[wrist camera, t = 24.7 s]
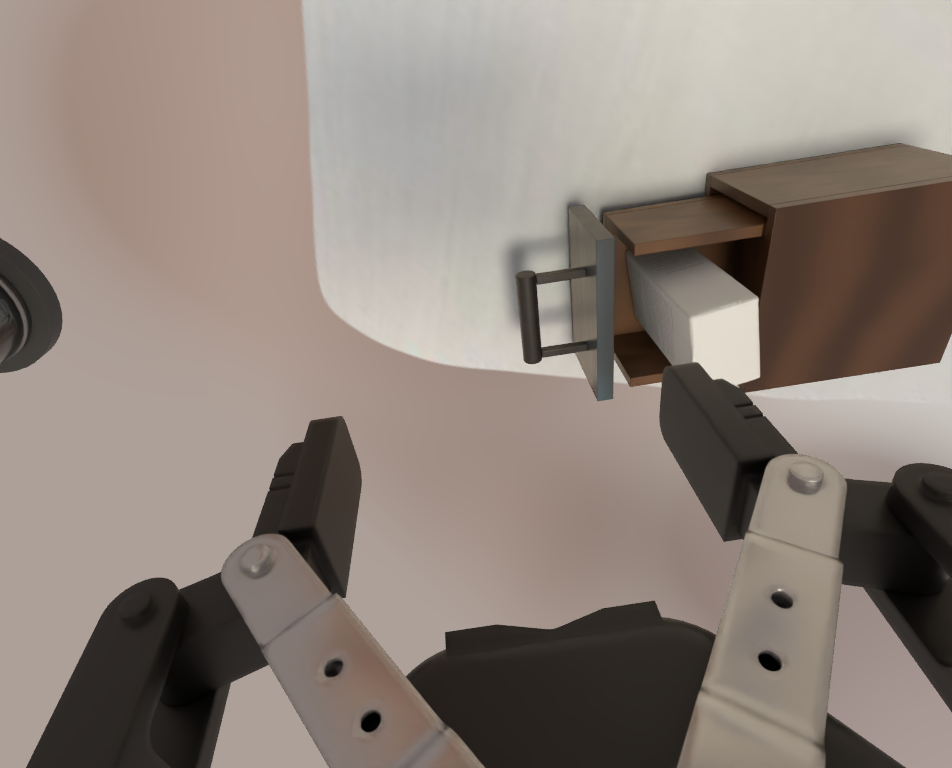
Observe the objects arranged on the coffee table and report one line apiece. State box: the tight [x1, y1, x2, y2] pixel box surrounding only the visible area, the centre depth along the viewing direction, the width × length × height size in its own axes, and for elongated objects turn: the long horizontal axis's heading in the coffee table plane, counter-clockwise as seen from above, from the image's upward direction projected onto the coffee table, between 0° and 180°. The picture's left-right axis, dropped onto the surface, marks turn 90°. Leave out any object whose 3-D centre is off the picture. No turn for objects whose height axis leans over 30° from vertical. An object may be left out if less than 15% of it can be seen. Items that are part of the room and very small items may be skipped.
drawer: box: [516, 194, 767, 401], centre depth 40 cm, size 18×12×8 cm
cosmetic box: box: [625, 247, 760, 385], centre depth 37 cm, size 6×4×12 cm
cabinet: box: [705, 143, 952, 393], centre depth 40 cm, size 15×14×10 cm
